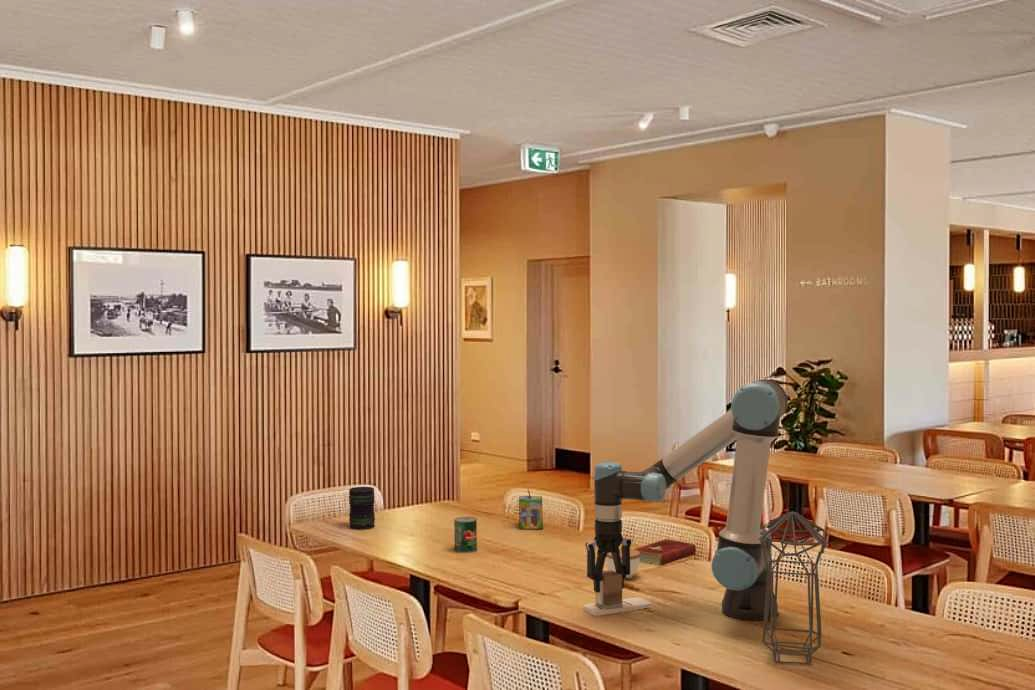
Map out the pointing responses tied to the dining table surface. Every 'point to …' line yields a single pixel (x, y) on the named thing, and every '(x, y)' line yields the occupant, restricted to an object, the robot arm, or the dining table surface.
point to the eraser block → (611, 590)
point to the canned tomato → (465, 534)
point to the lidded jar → (610, 563)
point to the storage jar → (361, 508)
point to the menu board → (626, 606)
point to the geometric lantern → (770, 574)
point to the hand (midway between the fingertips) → (609, 601)
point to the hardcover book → (665, 551)
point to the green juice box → (530, 512)
